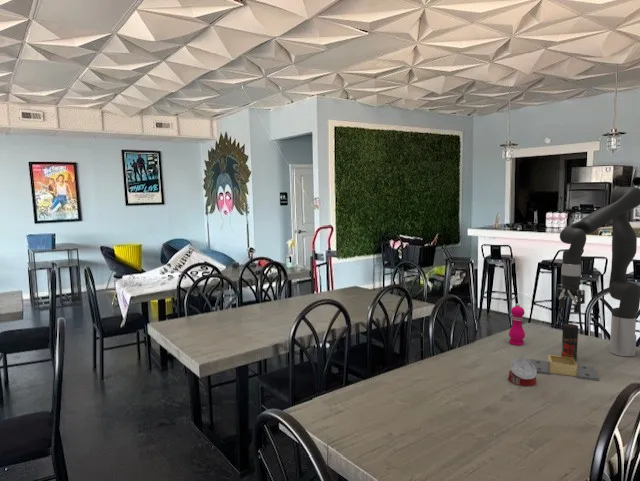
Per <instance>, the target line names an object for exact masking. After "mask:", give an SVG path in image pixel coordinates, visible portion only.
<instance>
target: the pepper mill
mask: <svg viewBox="0 0 640 481" xmlns="http://www.w3.org/2000/svg"><path fill="white" fill-rule="evenodd" d="M510 314H511V319H512V325H511V328H510V329H509V331H508V336H509V344H510V345H513V346H518V347H519V346H523V345H524V343H525V342H524V339H525V338H526V332H525V330H524V328H523V320H524V315H525V309H524V308H523V307H522V306H521V304H520V303H516V304H515V306H513V307H512V308H511V310H510Z"/></svg>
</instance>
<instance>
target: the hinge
mask: <svg viewBox="0 0 640 481" xmlns="http://www.w3.org/2000/svg"><path fill="white" fill-rule="evenodd" d="M528 359H529V360H530V361H531V362H532V363H533V365H534V366H535V368H536V370H537V374H541V375H549V376H550V375H551V374H554V375H563V376H570V377H576V378H577V379H582V380H591V381H598V382H600V376H599V375H598V373H597V370H596V368H595V367H594V366H593V365H592V366H591V365H583V364H577V362H576V361H575V359H574V357H565V356H562V355H556V354H548V355H547V360H541V359H533V358H528Z"/></svg>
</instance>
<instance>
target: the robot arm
mask: <svg viewBox="0 0 640 481" xmlns="http://www.w3.org/2000/svg"><path fill="white" fill-rule="evenodd" d="M639 206H640V187H638V186H637V187H636V186H619V187H618V186H617V187H615V188H614V189H613V190H612V191H611V194H610V204H608V205H606V206H603V207H601V208H598V209H596V210H594V211H593V212H591V213H589V214H588V215H587V216H585V217H583V218H582V219H580V220H578V221H576V222H574V223H572V224H569V225H568V226H565V227H564V228H563V229H562V230H561V231H560V233H559V239H560V240H559V241H561V242H562V243H564V244H568V245H569V247H568V248H569V249H565V250H564V251H562V260H561V262H562V265H561V272H560V273H561V274H560V284H559V283H558V284H556V290H555V297H556V298H557V299H558V300H559V301H558V302H559V304H558V305H559V308H560V309H566V298H567V297H568V298H570V299H571V301H573V313H574V314H580V312H581V305H584V304H585V303H586V300H585V299H586V290H584V289H580V288H579V286H580V285H581V281H582V279H581V277H582V253H583V251H584V248H585V245H586V242H587V235H590V234H592V233H594V232H595V231H597V230H598V229H600V228H602V227H603V226H604V225H605V224H607V223H608V222H609V223H610V221H611V223H612V226H611V227H612V228H611V229H612V233H611V234H612V236H611V269H610V276H609V283H608V284H609V285H608V293H609V295H610V297H611V298H612V299H613V300H618V301H620V304H619V307H614V308H612V310H611V319H610V320H611V322H610V337H609V338H610V340H609V352H610V353H611V354H613V355H616V356H620V357H636V348H637V335H636V323H637V314H638V313H639V310H640V286H639V285H638V283H636V282H632V281H627V271H628V268H629V266H630V264H631V262H632V261H633V260H634V258H635V256H636V254H637V250H638V249H637V246H638V245H637V244H638V238H637V234H636V233H635V230H634V228H633V227H632V225H631V223H630V221H629V217H628V212H629V211H631V210H634V209H635V208H637V207H639Z"/></svg>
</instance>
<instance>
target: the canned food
mask: <svg viewBox="0 0 640 481" xmlns="http://www.w3.org/2000/svg"><path fill="white" fill-rule="evenodd" d="M529 359H530V358H527V357H524V356H519V357H516V358H514V359H513V360H512V361H511V363H510V364H509V367H510V370H509V371H508V381H509V382H510V383H512V384H514V385H518V386H520V385H521V386H520V387H522V386H523V387H533V386H535V385H536V384H537V374H538V373H537V370H536V368H535V366H534V365H533V363H532V362H531V361H530V360H529Z"/></svg>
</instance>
